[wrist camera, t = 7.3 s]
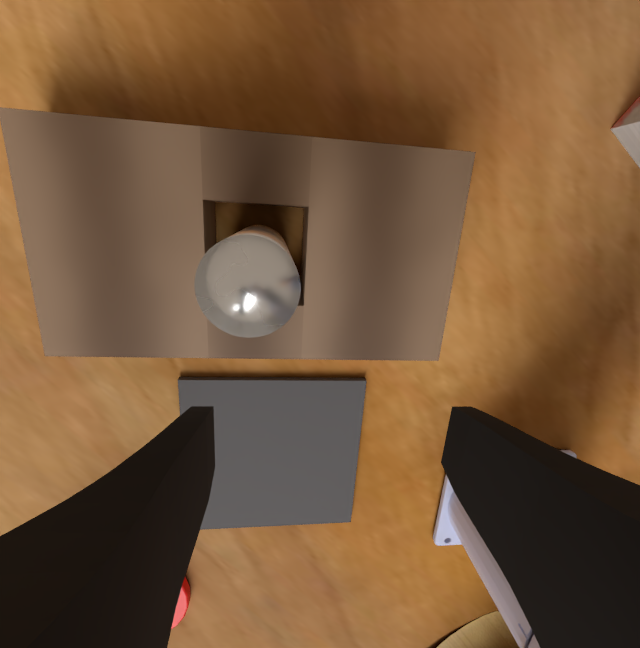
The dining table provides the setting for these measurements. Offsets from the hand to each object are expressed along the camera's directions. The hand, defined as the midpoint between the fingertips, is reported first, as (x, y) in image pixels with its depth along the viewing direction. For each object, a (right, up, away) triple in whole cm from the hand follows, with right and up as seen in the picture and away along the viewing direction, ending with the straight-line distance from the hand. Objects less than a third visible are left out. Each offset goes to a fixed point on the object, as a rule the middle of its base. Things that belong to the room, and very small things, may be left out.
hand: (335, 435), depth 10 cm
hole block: (-4, +7, +8) cm, 11 cm away
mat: (-3, -5, +12) cm, 14 cm away
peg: (-4, +7, +8) cm, 11 cm away
